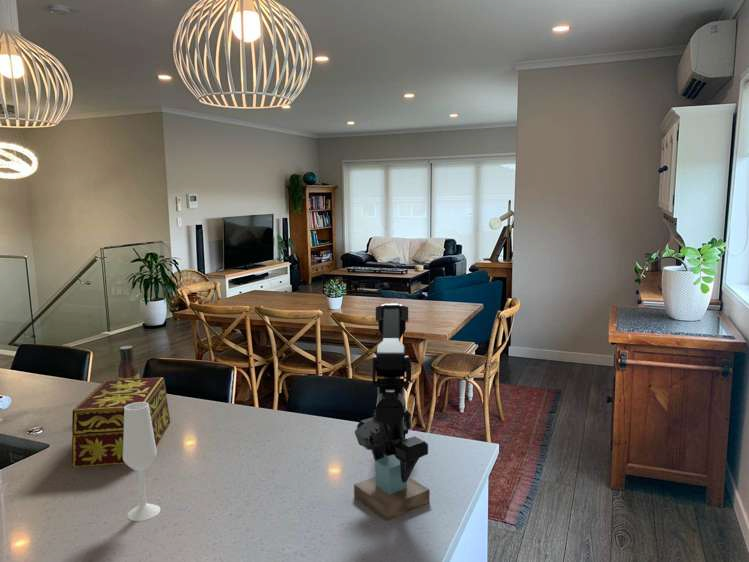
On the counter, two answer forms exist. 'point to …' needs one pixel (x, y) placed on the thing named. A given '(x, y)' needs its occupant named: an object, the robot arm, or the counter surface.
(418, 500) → the walnut base
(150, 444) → the champagne flute
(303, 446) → the counter surface
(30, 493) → the counter surface
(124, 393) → the decorative box
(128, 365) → the sauce bottle
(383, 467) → the teal block
